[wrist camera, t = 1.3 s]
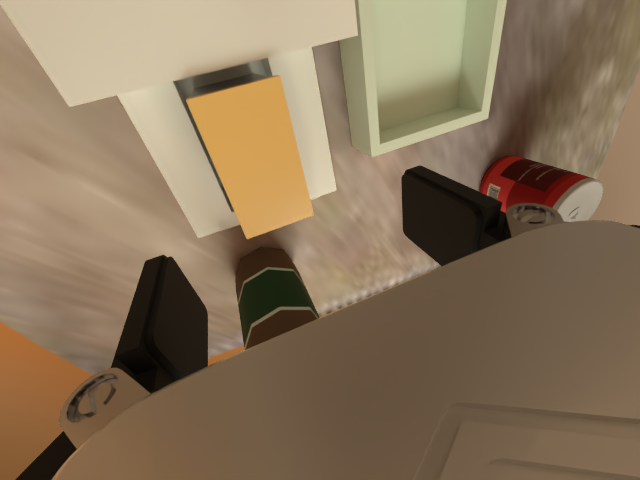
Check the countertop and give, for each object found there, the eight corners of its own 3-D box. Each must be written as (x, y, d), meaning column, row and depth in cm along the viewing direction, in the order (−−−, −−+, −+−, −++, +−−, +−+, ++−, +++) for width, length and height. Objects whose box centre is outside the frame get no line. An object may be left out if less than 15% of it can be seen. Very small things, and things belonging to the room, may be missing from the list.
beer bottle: (291, 238, 34) (402, 456, 15) (296, 284, 39) (388, 500, 19) (227, 252, 32) (262, 525, 13) (240, 300, 36) (281, 557, 17)
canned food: (491, 211, 45) (561, 247, 36) (468, 189, 40) (541, 224, 32) (527, 171, 43) (610, 199, 34) (507, 143, 38) (596, 167, 30)
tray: (326, -58, 21) (351, -82, 18) (475, -85, 24) (524, -111, 20) (352, 146, 31) (371, 157, 27) (457, 112, 33) (487, 118, 29)
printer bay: (62, -10, 18) (-48, -67, 10) (290, -51, 21) (343, -122, 13) (198, 233, 30) (196, 295, 22) (333, 187, 33) (375, 226, 25)
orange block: (192, 87, 22) (185, 100, 14) (253, 71, 23) (280, 75, 15) (234, 189, 28) (246, 239, 20) (283, 173, 29) (313, 215, 21)
